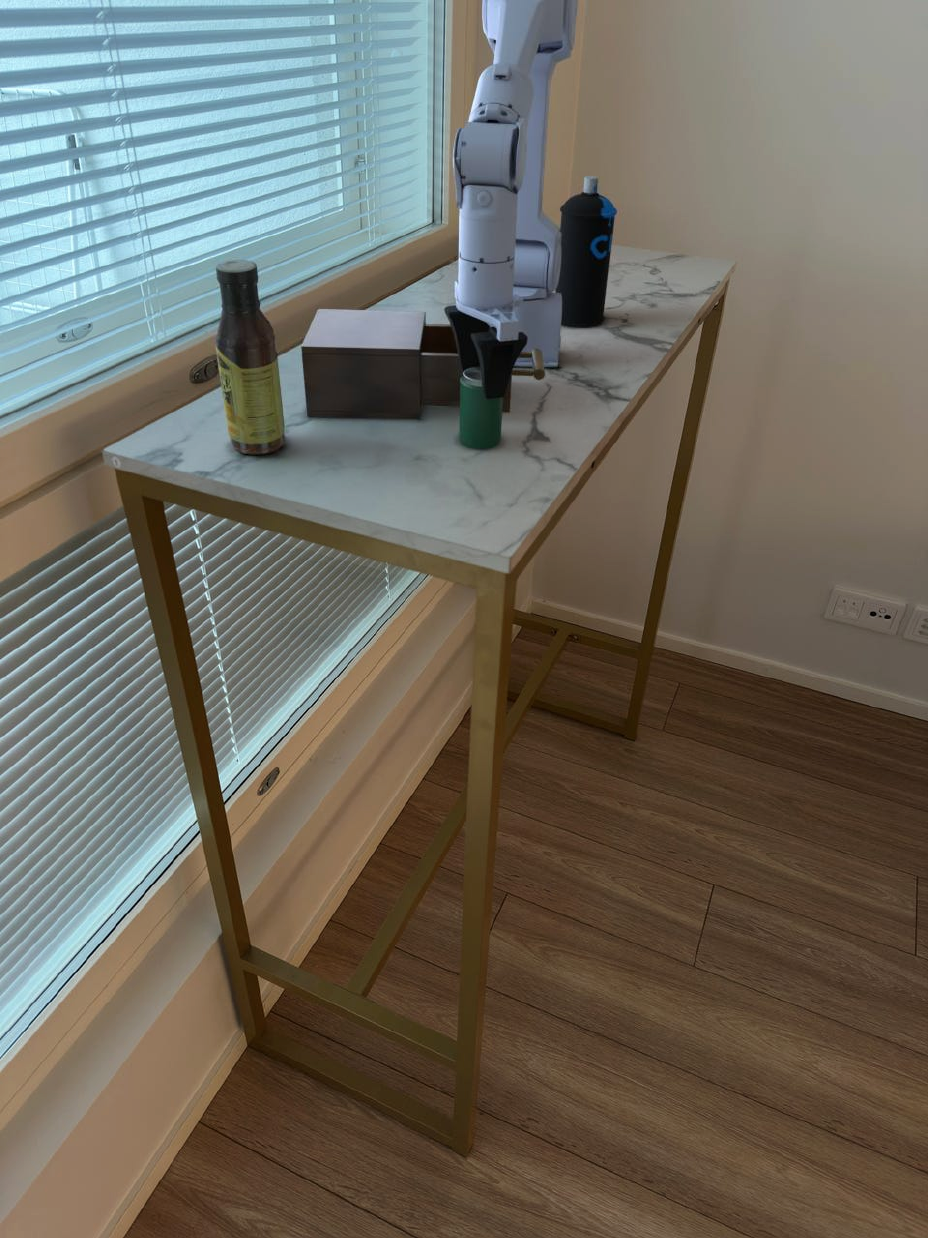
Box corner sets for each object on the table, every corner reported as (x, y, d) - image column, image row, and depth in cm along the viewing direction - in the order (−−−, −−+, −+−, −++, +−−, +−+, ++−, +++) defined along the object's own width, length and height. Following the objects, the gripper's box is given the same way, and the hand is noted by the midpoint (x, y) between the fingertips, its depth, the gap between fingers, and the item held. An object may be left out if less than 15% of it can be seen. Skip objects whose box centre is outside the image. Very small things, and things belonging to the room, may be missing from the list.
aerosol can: (544, 323, 138) (555, 179, 126) (560, 307, 144) (571, 169, 132) (596, 330, 135) (612, 185, 123) (610, 314, 142) (627, 174, 130)
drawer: (538, 375, 118) (542, 323, 114) (544, 414, 108) (548, 358, 104) (412, 371, 118) (411, 319, 114) (405, 410, 108) (404, 354, 104)
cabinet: (426, 376, 119) (425, 311, 114) (420, 419, 108) (419, 349, 103) (323, 374, 119) (318, 308, 114) (307, 416, 108) (300, 346, 103)
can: (494, 429, 107) (496, 363, 102) (506, 447, 103) (509, 379, 98) (454, 433, 106) (455, 367, 101) (465, 451, 102) (467, 383, 97)
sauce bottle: (233, 433, 104) (208, 253, 92) (288, 433, 105) (270, 254, 93) (226, 459, 99) (199, 272, 87) (284, 458, 99) (264, 272, 88)
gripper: (550, 272, 88) (540, 405, 96) (498, 235, 99) (493, 357, 107) (482, 278, 86) (478, 412, 94) (437, 239, 97) (436, 363, 105)
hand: (482, 383), depth 100 cm, fingers open, 7 cm apart
